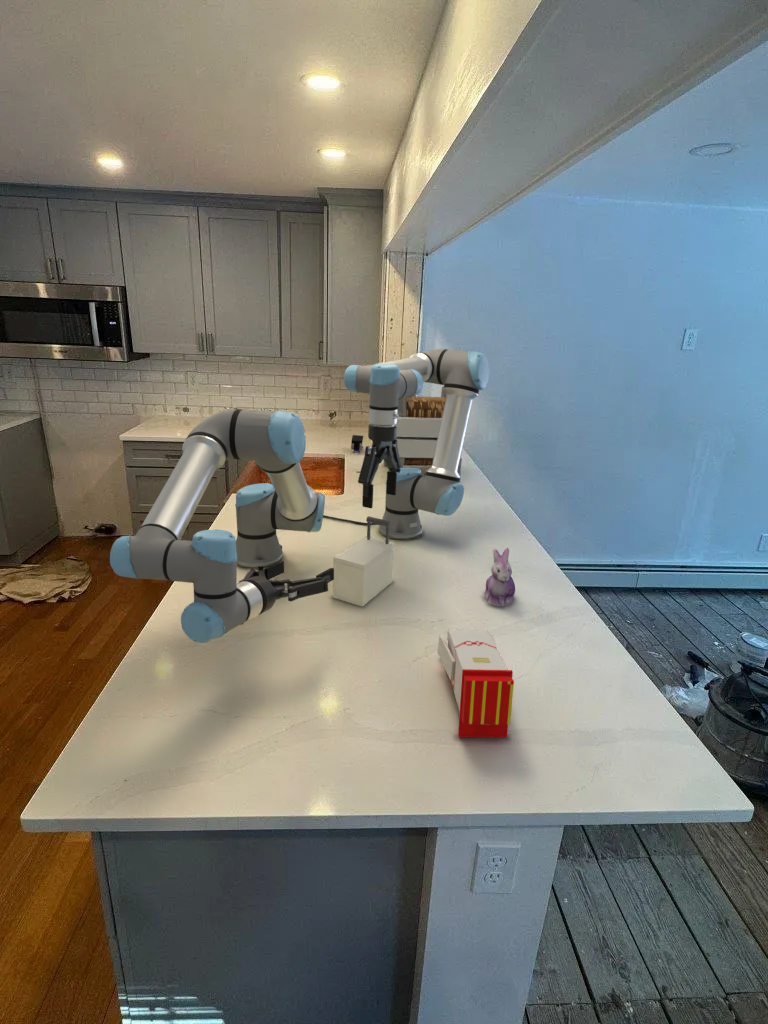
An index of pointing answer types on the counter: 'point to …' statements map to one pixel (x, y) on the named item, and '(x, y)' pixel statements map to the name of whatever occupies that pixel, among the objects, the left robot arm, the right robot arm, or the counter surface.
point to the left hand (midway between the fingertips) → (307, 570)
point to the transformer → (419, 429)
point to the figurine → (500, 581)
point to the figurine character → (356, 443)
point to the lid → (366, 547)
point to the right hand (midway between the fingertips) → (379, 500)
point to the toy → (478, 682)
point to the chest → (362, 580)
